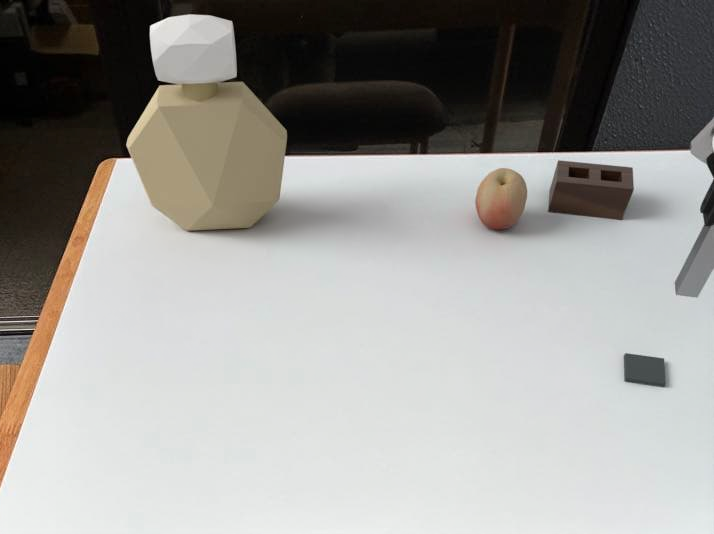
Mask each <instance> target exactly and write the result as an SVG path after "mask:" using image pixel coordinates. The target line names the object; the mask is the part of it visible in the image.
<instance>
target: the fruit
mask: <svg viewBox="0 0 714 534" xmlns="http://www.w3.org/2000/svg"><path fill="white" fill-rule="evenodd" d="M527 198H528V187H527V182H526V180H525V178H524V177H523V176H522V174H520V173H519V172H518V171H516V170H514V169H511V168H509V167H499V168H496V169H494V170H492V171H490V172H489V173H488V174H487V175H485V177H484V178H483V179H482V180H481V182H480V183H479V185H478V187H477V191H476V196H475V200H474V201H475V202H474V203H475V210H476V213H477V216H478V218H479V220H480V222H481V223H482V225H483V226H485V227H486V228H488V229H490V230H504V229H507V228H510V227H512V226H513V225H515V224H516V223H517V222H518V221H519V219H520V218H521V217H522V215H523V213H524V211H525V209H526V203H527Z"/></svg>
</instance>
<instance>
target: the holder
mask: <svg viewBox="0 0 714 534" xmlns="http://www.w3.org/2000/svg"><path fill="white" fill-rule="evenodd" d="M634 190H635V186H634V168H633V167H632V166H622V165H612V164H601V163H591V162H590V163H589V162H579V161H571V160H570V161H569V160H561V159H560V160H559V159H558V160H557V163H556V166H555V170H554V173H553V177H552V180H551V183H550V188H549V191H548V192H549V193H548V195H549V196H548V205H547V212H548V213H555V214H565V215H573V216H574V215H575V216H584V217H593V218H601V219H602V218H603V219H611V220H620V221H621V220H623V218H624V216H625V213H626V210H627V208H628V205H629V203H630V200H631V198H632V197H633V193H634Z"/></svg>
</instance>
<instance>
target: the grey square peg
mask: <svg viewBox="0 0 714 534" xmlns="http://www.w3.org/2000/svg"><path fill="white" fill-rule="evenodd" d="M713 271H714V225H711V226H710V227H709V226H705V225H704V224H703V226H702V228H701V230H700V231H699V233H698V236H697V238H696V240H695V242H694V244H693V246H692V248H691V249H690V252H689V253H688V256H687V257H686V259H685V261H684V263H683V265H682V267H681V269H680V271H679V273H678V275H677V277H676V279H675V281H674V290H675V295H676V296H682V297H687V298H688V297H689V298H699V296H700V294H701V292H702V290H703V289H704V287H705V285H706V283H707V281H708V280H709V278H710V276H711V275H712V272H713Z"/></svg>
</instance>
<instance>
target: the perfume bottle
mask: <svg viewBox="0 0 714 534" xmlns="http://www.w3.org/2000/svg"><path fill="white" fill-rule="evenodd" d="M234 30H235V29H234V24H233V21H232V20H228V19H226V18H221V17H218V16H214V15H209V14H190V13H189V14H183V15H176V16H169V17H166V18H164V19H161V20H160V21H157V22H155V23H153V24H151V25H149V44H150V53H151V59H152V65H153V69H154V73H155V77H156V79H157V81H160V82H164V83H170V84H163V85H161V84H160V85H158V88H157V89H156V91H155V92H154V94H153V96H152V97H151V99H150V101H149V102H148V104H147V105H146V107H145V109H144V111H142V114H141V115H140V117H139V119H138V120H137V122H136V124H135V125H134V127H133V128H132V130H131V132H130V133H129V135H128V137H127V140H126V144H125V146H126V148H127V150H128V153H129V155H130V158H131V161H132V163H133V165H134V168H135V169H136V172H137V174H138V177H139V179H140V182H141V184H142V187H143V190H144V192H145V193H146V196H147V198H148V200H149V203H150V205H151V206H152V207H153V208H154V209H155V210H157V211H158V212H160V214H163V215H164V216H165V217H166V218H168V219H169V220H171V222H173V223H175V224H176V225H177V226H179V227H180V228H181V229H183V230H184V231H206V230H207V231H208V230H226V229H228V230H229V229H249V228H253V226H254V225H255V224H256V223H258V221H259V220H260V219H261V218H262V217H264V215H265V214H267V213H268V211H270V210H271V208H273V207H274V206H275V205H276V204H277V202H278V201H280V199H281V190H282V183H283V174H284V167H285V159H286V149H287V141H288V131H287V129H286V128H285V127H284V126H283V125H282V123H280V121H279V120H278V118H276V117H275V115H273V113H272V112H271V111H270V110H269V109H268V108H267V107H266V106H265V105H264V104H263V103H262V101H261V100H260V99H259V98H258V97H257V96H256V95H255V93H254V92H253V90H251V89H250V88H249V87H248V85H246V84H245V82H244V81H229V80H232V79H234V78H237V75H238V74H237V73H238V67H237V52H236V51H237V50H236V39H235V31H234ZM226 81H228V82H226Z"/></svg>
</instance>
